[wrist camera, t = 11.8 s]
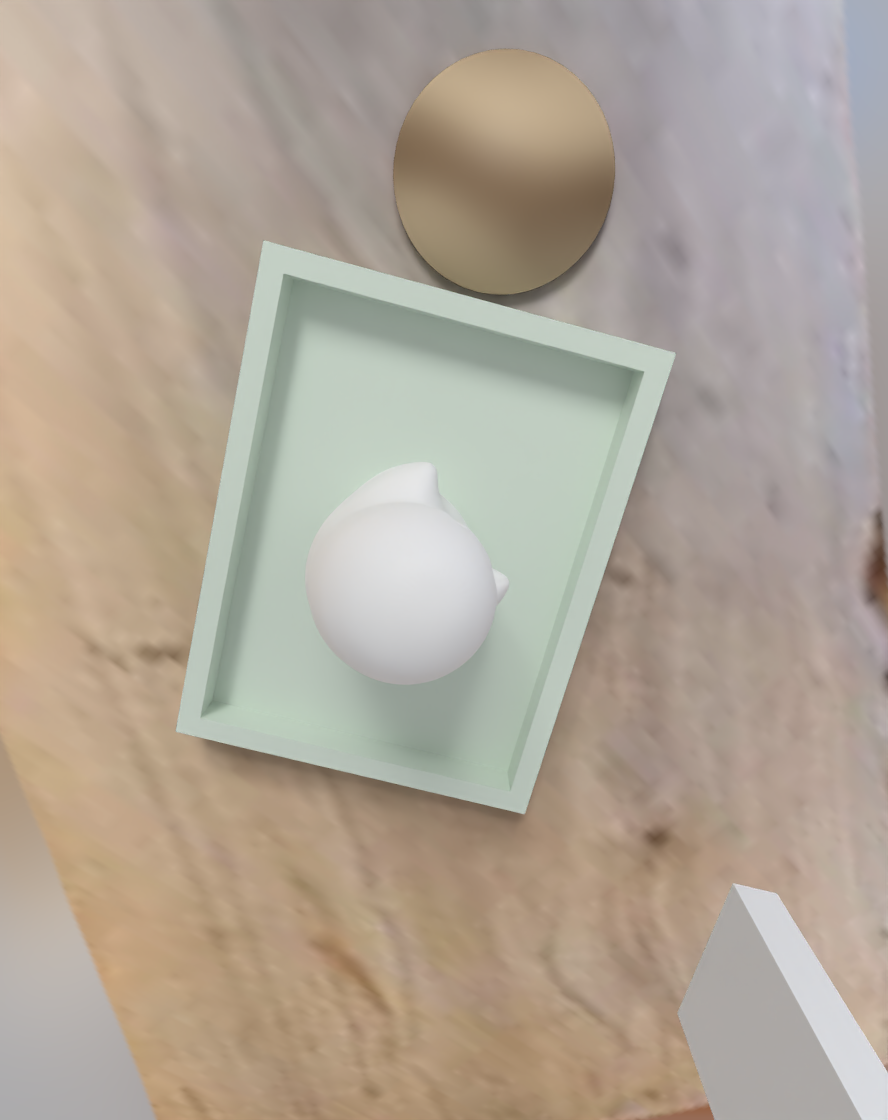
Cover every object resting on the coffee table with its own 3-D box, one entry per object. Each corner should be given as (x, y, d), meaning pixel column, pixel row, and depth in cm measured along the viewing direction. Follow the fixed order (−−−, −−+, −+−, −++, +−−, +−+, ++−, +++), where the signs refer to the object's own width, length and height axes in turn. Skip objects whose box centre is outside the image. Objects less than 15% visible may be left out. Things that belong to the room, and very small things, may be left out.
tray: (278, 250, 30) (263, 240, 28) (659, 354, 31) (676, 353, 29) (193, 708, 36) (175, 731, 33) (520, 786, 37) (524, 814, 34)
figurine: (516, 564, 33) (550, 668, 21) (380, 647, 34) (342, 788, 22) (432, 433, 32) (418, 468, 20) (293, 525, 33) (204, 608, 21)
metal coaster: (391, 56, 28) (390, 50, 28) (618, 52, 28) (620, 46, 28) (397, 296, 31) (396, 294, 30) (607, 293, 31) (609, 292, 30)
